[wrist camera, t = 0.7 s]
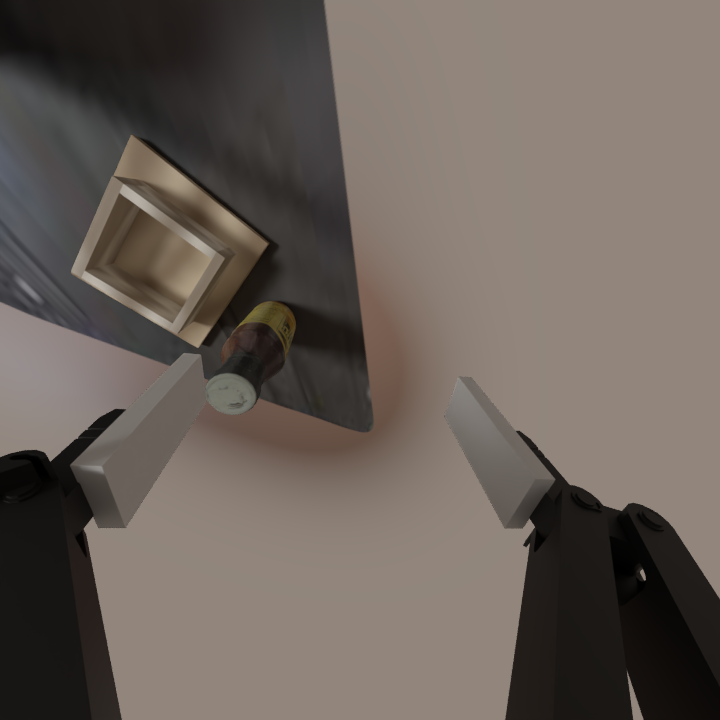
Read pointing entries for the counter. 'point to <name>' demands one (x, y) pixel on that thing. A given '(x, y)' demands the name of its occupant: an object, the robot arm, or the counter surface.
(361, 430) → the counter surface
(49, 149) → the counter surface
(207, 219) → the caddy board
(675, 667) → the robot arm
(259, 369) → the sauce bottle
